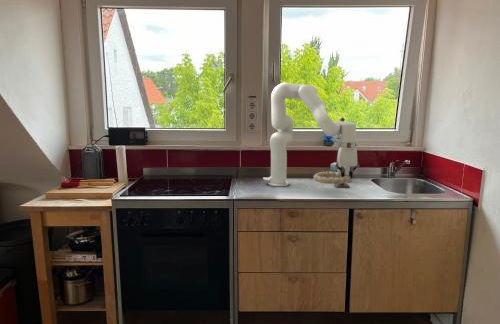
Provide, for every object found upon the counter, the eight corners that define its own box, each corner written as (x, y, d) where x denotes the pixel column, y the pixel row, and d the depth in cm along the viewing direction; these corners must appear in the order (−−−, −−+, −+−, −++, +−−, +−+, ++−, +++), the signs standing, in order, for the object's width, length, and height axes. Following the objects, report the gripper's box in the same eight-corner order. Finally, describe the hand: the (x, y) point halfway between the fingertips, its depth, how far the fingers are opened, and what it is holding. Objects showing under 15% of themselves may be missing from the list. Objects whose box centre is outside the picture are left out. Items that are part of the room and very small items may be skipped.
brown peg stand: (337, 187, 200) (338, 168, 198) (334, 185, 207) (335, 166, 205) (349, 187, 200) (350, 168, 198) (346, 185, 207) (347, 166, 205)
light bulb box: (329, 180, 219) (330, 163, 217) (333, 178, 224) (334, 162, 223) (345, 182, 213) (346, 165, 211) (349, 180, 218) (350, 163, 217)
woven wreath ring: (317, 184, 179) (317, 178, 178) (310, 176, 199) (311, 171, 198) (354, 184, 179) (354, 178, 178) (344, 176, 198) (344, 170, 198)
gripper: (361, 144, 189) (359, 177, 192) (331, 144, 189) (329, 177, 192) (365, 146, 182) (363, 180, 185) (334, 146, 182) (332, 180, 185)
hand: (346, 178), depth 188 cm, fingers closed on woven wreath ring, 3 cm apart
